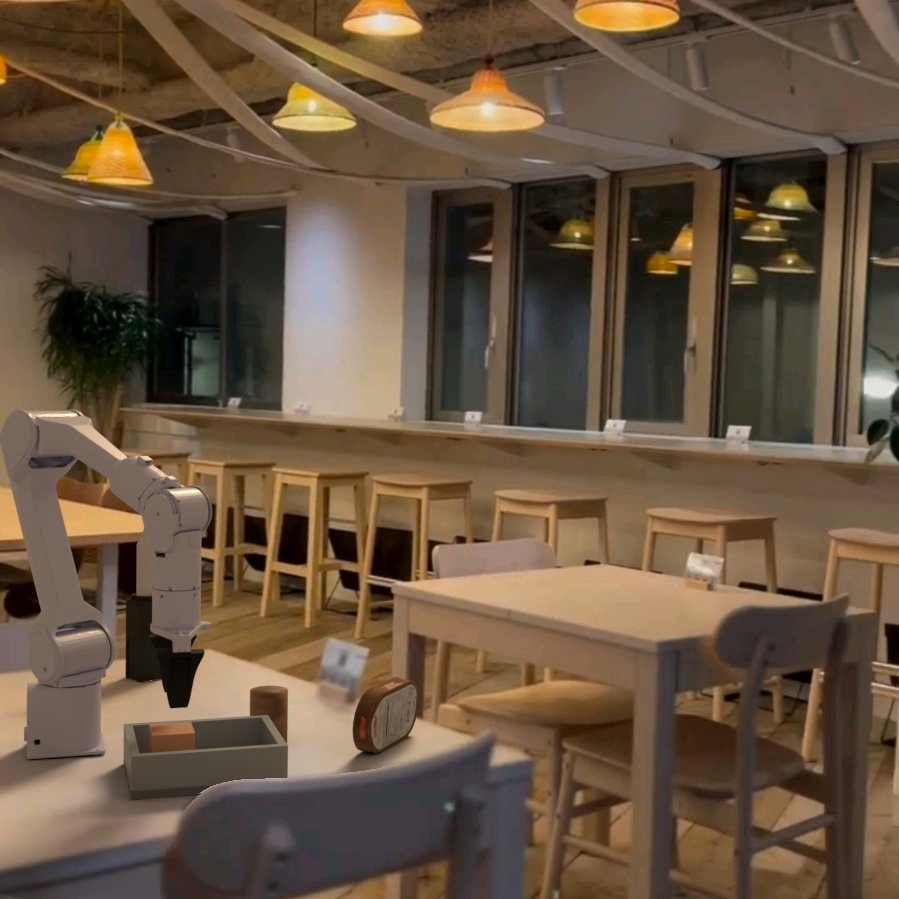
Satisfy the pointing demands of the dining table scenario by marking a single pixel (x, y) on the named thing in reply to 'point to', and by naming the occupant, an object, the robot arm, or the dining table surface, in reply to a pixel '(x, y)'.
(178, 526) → the robot arm
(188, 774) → the tote
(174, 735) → the terracotta cube
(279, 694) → the walnut cylinder
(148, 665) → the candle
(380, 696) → the tin
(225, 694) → the dining table surface
